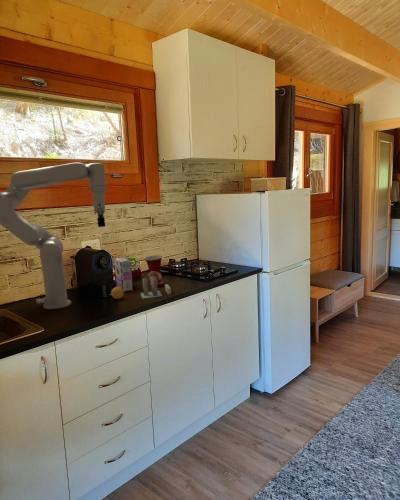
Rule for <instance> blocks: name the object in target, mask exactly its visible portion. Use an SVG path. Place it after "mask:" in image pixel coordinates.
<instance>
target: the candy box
mask: <svg viewBox="0 0 400 500" xmlns="http://www.w3.org/2000/svg"><path fill="white" fill-rule="evenodd" d="M113 263H114V272H115V282H116V287H120V288H122V289H123V291H124V292H132V291H133V290H134V287H133V275H132V273H133V271H132V260H131V259H128V258H126V257H117V258H113Z"/></svg>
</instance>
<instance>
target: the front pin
mask: <svg viewBox="0 0 400 500" xmlns="http://www.w3.org/2000/svg"><path fill="white" fill-rule="evenodd" d="M148 280H149V279H148V278H142V289H143V293H144V296H147V295H149V294H148V292H149V283H148V282H149V281H148Z"/></svg>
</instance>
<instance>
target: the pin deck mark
mask: <svg viewBox="0 0 400 500" xmlns="http://www.w3.org/2000/svg"><path fill="white" fill-rule="evenodd" d="M157 291H158V295H157V296H153V293H152V291H148V294H149V295H147V296H144V292H140V297H141V299H150V298H158V297H163V294H162V293H161V291H160V290H157Z"/></svg>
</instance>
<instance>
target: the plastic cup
mask: <svg viewBox="0 0 400 500" xmlns="http://www.w3.org/2000/svg"><path fill="white" fill-rule="evenodd" d="M162 258H163V256H162V255H160V254H155V255H154V254H153V255H149V256H146V257H144V260H145V261H146V265H147V268H148V271H149V273H150V272H151V271H155V272H158V273H161V267H162Z"/></svg>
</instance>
